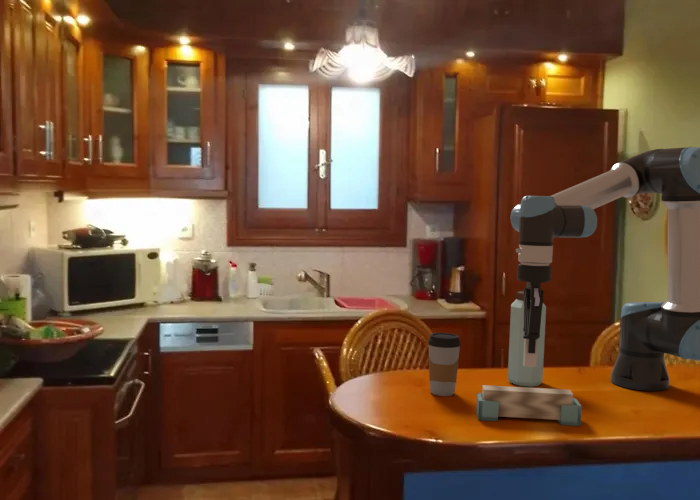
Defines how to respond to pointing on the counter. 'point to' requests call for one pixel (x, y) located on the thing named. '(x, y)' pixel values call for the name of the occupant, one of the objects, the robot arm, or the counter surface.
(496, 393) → the slat
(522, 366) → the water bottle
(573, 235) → the robot arm
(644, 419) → the counter surface
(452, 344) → the coffee cup
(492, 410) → the end caps
